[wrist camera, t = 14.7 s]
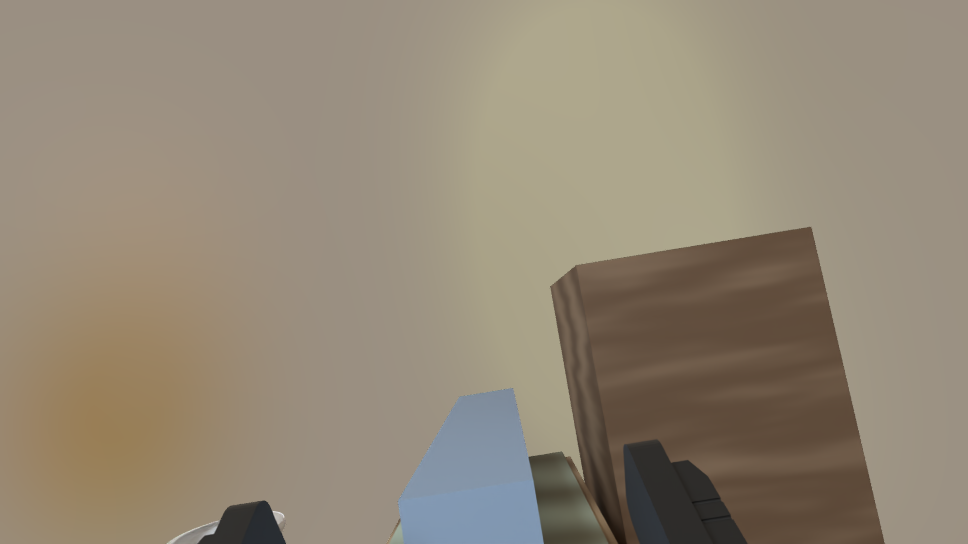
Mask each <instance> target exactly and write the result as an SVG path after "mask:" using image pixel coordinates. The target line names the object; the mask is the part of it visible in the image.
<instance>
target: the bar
mask: <svg viewBox="0 0 968 544" xmlns="http://www.w3.org/2000/svg"><path fill="white" fill-rule="evenodd" d="M398 505H399V512H400V519H401V526H402V533H403V541H404V544H544V542H543V536H542V530H541V524H540V518H539V512H538V506H537V500H536V494H535V488H534V481H533V476H532V472H531V467H530V463H529V458H528V454H527V449H526V445H525V440H524V436H523V431H522V427H521V422H520V418H519V413H518V409H517V404H516V400H515V395H514V391H513V388H510V389H504V390H498V391H492V392H486V393H480V394H474V395H467V396H461V397H459V398H458V400H457V402H456V403H455V405H454V407H453V409H452V410H451V412H450V414H449V415H448V417H447V419H446V420H445V422H444V424H443V425H442V427H441V429H440V431H439V432H438V434H437V436H436V437H435V439H434V441H433V442H432V444H431V446H430V447H429V449H428V451H427V453H426V455H425V456H424V458H423V460H422V461H421V463H420V465H419V466H418V468H417V470H416V471H415V473H414V475H413V476H412V478H411V480H410V482H409V483H408V485H407V486H406V488H405V490H404V492H403V494H402V495H401V497H400V498H399V500H398Z"/></svg>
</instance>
